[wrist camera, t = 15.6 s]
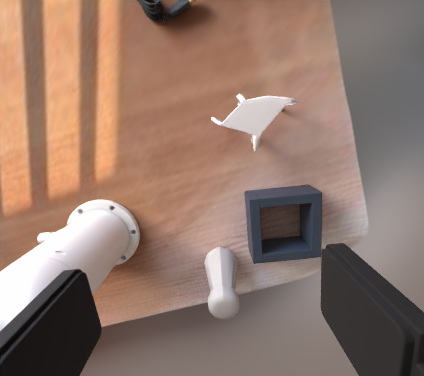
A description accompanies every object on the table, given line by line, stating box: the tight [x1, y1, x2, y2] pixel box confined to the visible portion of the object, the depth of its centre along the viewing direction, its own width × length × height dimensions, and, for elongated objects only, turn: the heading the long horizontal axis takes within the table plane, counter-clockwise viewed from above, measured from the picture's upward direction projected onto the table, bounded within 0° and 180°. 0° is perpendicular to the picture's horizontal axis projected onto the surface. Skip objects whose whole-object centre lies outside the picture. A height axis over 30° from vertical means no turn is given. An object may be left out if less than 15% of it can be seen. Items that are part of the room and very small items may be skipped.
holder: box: [245, 185, 322, 264], centre depth 38 cm, size 11×11×5 cm
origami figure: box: [211, 94, 298, 151], centre depth 34 cm, size 12×8×5 cm
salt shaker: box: [205, 246, 239, 319], centre depth 36 cm, size 6×6×13 cm
